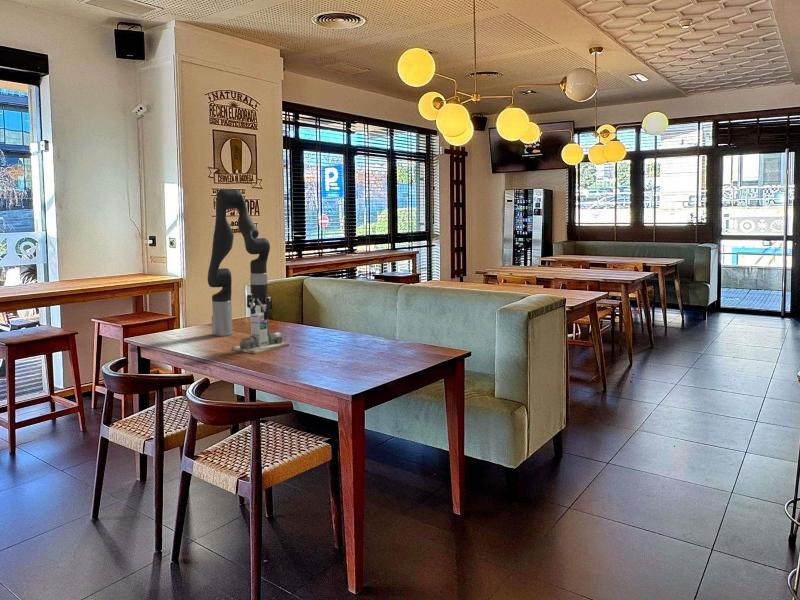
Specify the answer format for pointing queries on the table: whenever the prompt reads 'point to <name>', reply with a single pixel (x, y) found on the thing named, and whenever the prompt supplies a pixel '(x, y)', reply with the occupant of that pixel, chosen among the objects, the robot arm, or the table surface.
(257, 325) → the syrup box
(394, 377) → the table surface
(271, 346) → the shaft bed
